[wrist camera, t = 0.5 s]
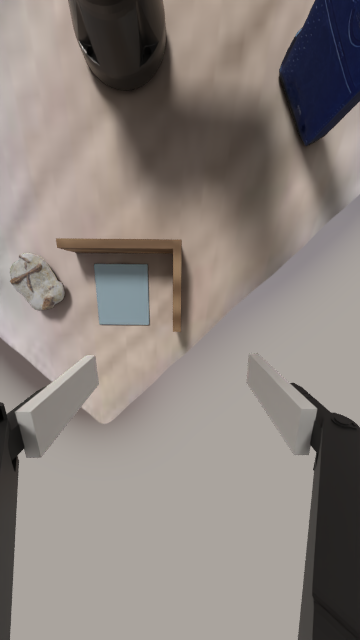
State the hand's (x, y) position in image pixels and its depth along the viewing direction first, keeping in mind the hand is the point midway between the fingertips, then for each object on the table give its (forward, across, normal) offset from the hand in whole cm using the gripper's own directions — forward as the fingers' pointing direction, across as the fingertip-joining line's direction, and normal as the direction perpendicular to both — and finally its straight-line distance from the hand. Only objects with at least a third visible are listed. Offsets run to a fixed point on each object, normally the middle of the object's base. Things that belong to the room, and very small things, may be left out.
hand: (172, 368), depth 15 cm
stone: (+28, -32, +3) cm, 43 cm away
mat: (+28, -13, +4) cm, 31 cm away
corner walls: (+28, -13, +5) cm, 31 cm away
